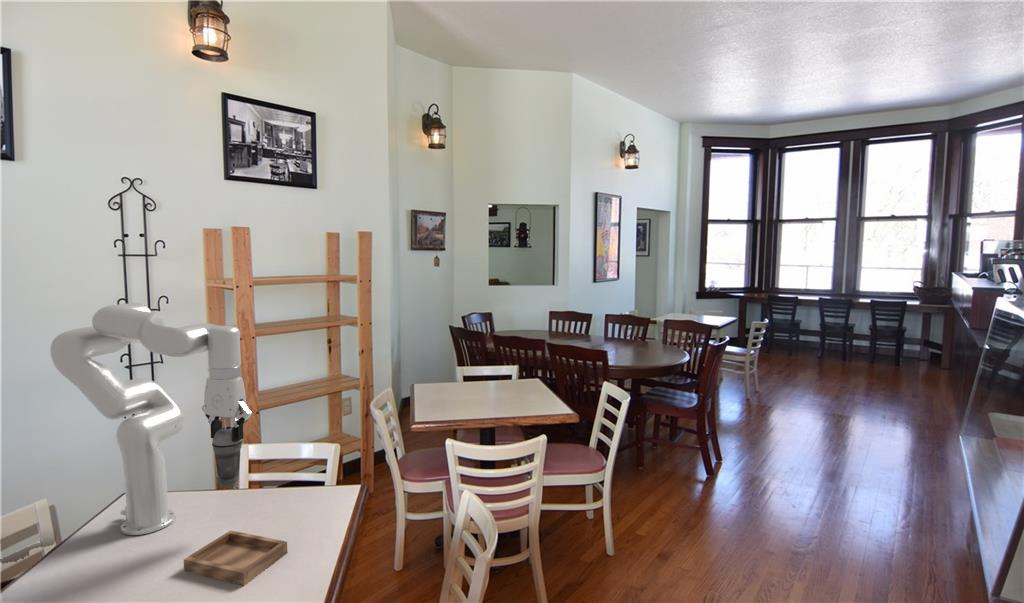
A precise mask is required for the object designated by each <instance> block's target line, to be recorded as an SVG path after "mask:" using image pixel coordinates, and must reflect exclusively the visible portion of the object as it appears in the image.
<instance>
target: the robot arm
mask: <svg viewBox="0 0 1024 603" xmlns="http://www.w3.org/2000/svg"><path fill="white" fill-rule="evenodd" d="M91 323H92V326H85V327H80V328H79V327H78V328H74V329H70V330H66V331H64V332H62V333H60V334H57V336H56V337H55V338H54V339H53V340H52V341H51V344H50V358H51V361H52V363H53V365H54V368H55V369H56V370H57V371H58V372H59V373H60V374H61V375H62V376H63V377H65V379H66V380H68V381H69V382H70V383H72V384H73V385H74V386H75V387H77V389H78V390H79V391H81V393H82V394H83V396H84V397H86V399H87V400H88V401H89V402H90V403H91V404H92V405H93V406H94V407H95V409H96V410H97V411H98V413H100V414H101V415H102V416H103V417H105V418H106V419H108V420H119V419H124V418H125V417H127V418H126V419H124V420H123V421H122V422H121V423H120V424H119V425H118V427H117V429H116V434H115V435H116V441H117V444H118V447H119V449H120V450H119V451H120V454H121V458H122V468H123V477H124V492H125V503H126V504H125V506H124V507H125V508H124V509H121V510H120V513H119V514H120V515H122V516H125V521H123V523H121V525H120V530H121V531H120V532H121V533H122V534H124V535H127V536H140V535H146V534H150V533H153V532H157V531H159V530H162V529H165V528H166V527H169V525H171V524H172V523H173V522H174V521H175V519H176V513H175V512H174V511H173V510H171V509H169V500H168V499H169V498H168V486H167V485H168V484H167V483H168V482H167V470H166V469H167V468H166V460H165V456H164V453H163V452H162V451H161V450H160V448H159V447H158V444H159V443H161V442H163V441H165V440H167V439H170V438H171V437H173V436H176V435H177V434H179V433H181V432H182V430H183V429H184V427H185V425H186V424H185V423H186V417H185V415H184V411H182V409H181V408H180V407H179V406H178V404H176V402H175V401H174V400H173V399H172V398H171V397H170V395H169V394H168V393H167V392H166V391H165V390H164V389H163V388H162V387H161V385H159V384H158V383H157V382H156V381H154V380H152V379H150V378H146V377H137V378H132V379H129V380H123V379H121V378H120V377H119V376H118V375H117V374H116V373H115V372H114V371H113V370H112V369H111V368H109V367H108V366H106V364H103V363H101V362H99V361H96V360H94V359H93V358H94V357H99V356H103V355H109V354H114V353H116V352H119V351H121V350H122V349H124V348H126V347H127V346H128V345H130V344H131V343H133V342H135V343H139V344H141V345H142V346H143V347H144V348H145V349H146V350H148V351H149V352H151V353H154V354H158V355H162V356H167V357H173V358H183V357H189V356H193V355H196V354H201V353H204V352H208V353H207V357H208V359H207V360H208V368H207V371H208V377H207V378H206V380H205V381H206V382H205V387H204V394H203V395H204V398H203V399H204V400H203V403H204V404H203V405H202V406H201V410H202V411H203V414H204V415H205V416H206V419H208V421H207V422H208V424H209V425H210V438H211V439H213V438H214V436H215V434H216V433H217V432H218V431H219V430H220V429H222V428H223V420H221V418H222V417H224V418H225V419H230V420H231V422H232V425H233V426H231V427H232V441H233V442H236V441H239V440H241V439H242V440H243V439H244V425H245V424H246V422H248V420H249V418H250V417H251V416H252V413H253V412H252V411H251V410H250V409H249V407H248V406H247V398H246V396H247V395H246V388H245V384H244V378H243V377H242V366H241V365H242V355H241V332H240V329H239V328H238V327H237V326H235V325H217V324H214V323H210V322H205V323H204V322H203V323H198V324H192V325H191V324H190V325H184V326H181V327H172V326H167V325H165V323H164V320H163V318H162V316H161V315H159V314H157V313H155V312H152V311H151V309H150V308H149V307H148V306H146V305H145V304H143V303H139V302H130V303H120V304H111V305H107V306H104V307H101V308H100V309H98V310H97V311H96V312H95V313H94V314H93V315H92V319H91ZM237 417H238V419H237Z"/></svg>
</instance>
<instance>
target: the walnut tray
mask: <svg viewBox="0 0 1024 603" xmlns="http://www.w3.org/2000/svg"><path fill="white" fill-rule="evenodd" d="M287 554H288V541H284V540H281V539H275V538H270V537H266V536H265V537H264V536H262V535H261V536H260V535H255V534H251V533H245V532H240V531H235V530H231V529H230V530H229V531H227V532H226V533H224V534H222V535H221V536H219V537H217V538H216V539H214V540H212V541H211V542H209V543H208V544H206V545H204V546H203V547H201V548H199V549H198V550H197V551H194V552H193V553H191V554H189V555H188V556H186V557H185V558H183V571H184V572H186V573H190V574H195V575H199V576H202V577H207V578H211V579H214V580H215V579H216V580H220V581H223V580H225V581H224V582H227V581H229V582H228V583H231V582H235V583H234V584H236V583H238V584H237V585H240V584H241V585H240V586H244V585H245V586H246V585H247V584H249V583H250V582H252V581H253V580H254V579H255V578H257V577H258V576H259V575H261V574H262V573H263V572H265V571H266V570H267V569H269V568H270V567H271V566H272V565H274V564H275V563H276V562H278V561H279V560H280V559H281V558H283V557H284V556H285V555H287ZM265 569H266V570H265ZM262 571H263V572H262ZM261 572H262V573H261ZM260 573H261V574H260ZM258 574H259V575H258ZM257 575H258V576H257ZM256 576H257V577H256ZM254 577H255V578H254ZM253 578H254V579H253ZM252 579H253V580H252ZM248 582H249V583H248Z"/></svg>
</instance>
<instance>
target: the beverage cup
mask: <svg viewBox="0 0 1024 603" xmlns="http://www.w3.org/2000/svg"><path fill="white" fill-rule="evenodd" d="M221 418H222V426H223V427H222V429H220V430H219V431H218V432H217V433H216V434H215V436H214V438H212V442H211V446H212V448H213V452H214V458H215V465H216V472H217V480H218V485H219V487H221V488H231V487H233V486H236V485H237V484H238V483H239V478H240V463H241V450H242V446H243V439H241V440H239V441H236V442H233V441H232V427H233V426H227V425H226V418H224V417H221Z"/></svg>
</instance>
